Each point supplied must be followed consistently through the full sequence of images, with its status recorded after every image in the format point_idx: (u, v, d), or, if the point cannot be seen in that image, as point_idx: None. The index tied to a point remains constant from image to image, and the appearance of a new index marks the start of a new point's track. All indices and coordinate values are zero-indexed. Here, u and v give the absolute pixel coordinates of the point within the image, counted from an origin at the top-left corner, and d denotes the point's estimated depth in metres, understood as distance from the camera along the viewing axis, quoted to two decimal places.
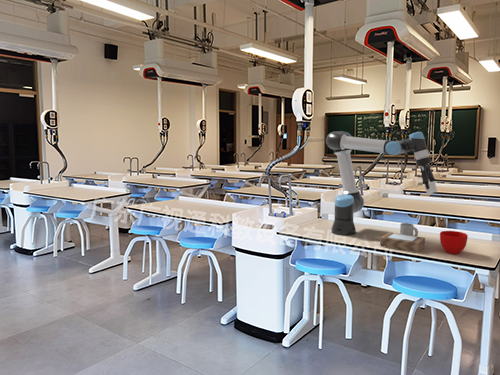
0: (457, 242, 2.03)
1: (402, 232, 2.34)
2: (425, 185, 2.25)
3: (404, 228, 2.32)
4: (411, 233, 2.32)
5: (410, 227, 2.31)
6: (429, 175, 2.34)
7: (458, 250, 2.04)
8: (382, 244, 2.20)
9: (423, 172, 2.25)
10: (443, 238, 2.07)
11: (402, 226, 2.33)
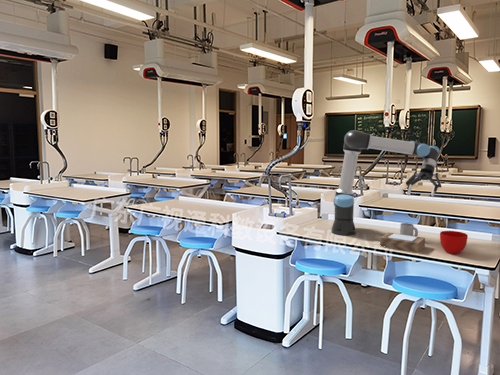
0: (457, 242, 2.03)
1: (402, 232, 2.34)
2: (434, 187, 2.33)
3: (404, 228, 2.32)
4: (411, 233, 2.32)
5: (410, 227, 2.31)
6: (417, 180, 2.44)
7: (458, 250, 2.04)
8: (382, 244, 2.20)
9: (438, 178, 2.37)
10: (443, 238, 2.07)
11: (402, 226, 2.33)
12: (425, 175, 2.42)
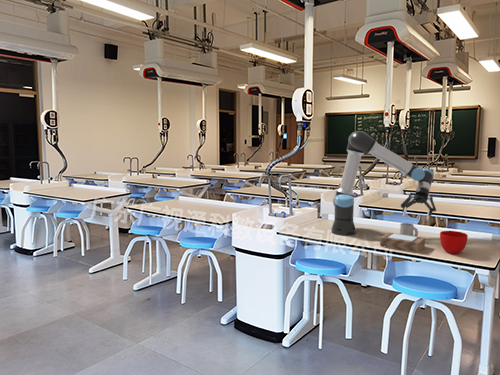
0: (457, 242, 2.03)
1: (402, 232, 2.34)
2: (429, 211, 2.36)
3: (404, 228, 2.32)
4: (411, 233, 2.32)
5: (410, 227, 2.31)
6: (411, 203, 2.46)
7: (458, 250, 2.04)
8: (382, 244, 2.20)
9: None
10: (443, 238, 2.07)
11: (402, 226, 2.33)
12: (420, 198, 2.44)
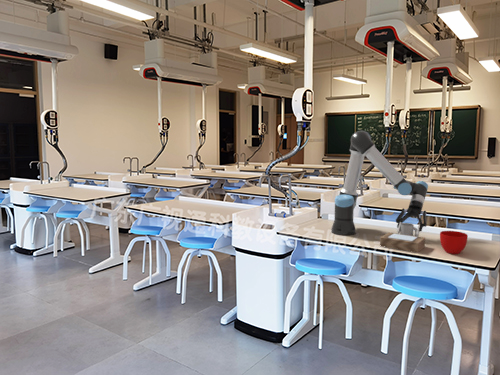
0: (457, 242, 2.03)
1: (402, 232, 2.34)
2: (419, 226, 2.31)
3: (404, 228, 2.32)
4: (411, 233, 2.32)
5: (410, 227, 2.31)
6: (406, 218, 2.39)
7: (458, 250, 2.04)
8: (382, 244, 2.20)
9: (425, 216, 2.34)
10: (443, 238, 2.07)
11: (402, 226, 2.33)
12: (413, 212, 2.38)
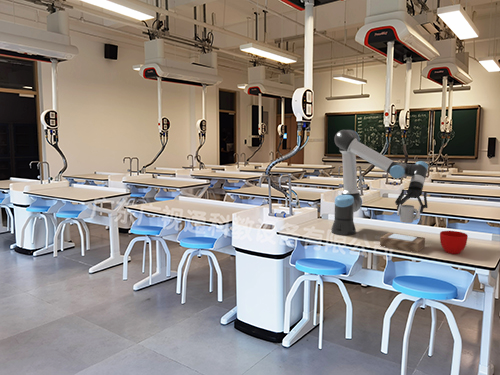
0: (457, 242, 2.03)
1: (402, 214, 2.24)
2: (420, 207, 2.21)
3: (404, 210, 2.22)
4: (412, 215, 2.22)
5: (411, 209, 2.21)
6: (406, 199, 2.29)
7: (458, 250, 2.04)
8: (382, 244, 2.20)
9: None
10: (443, 238, 2.07)
11: (402, 208, 2.23)
12: (413, 193, 2.28)
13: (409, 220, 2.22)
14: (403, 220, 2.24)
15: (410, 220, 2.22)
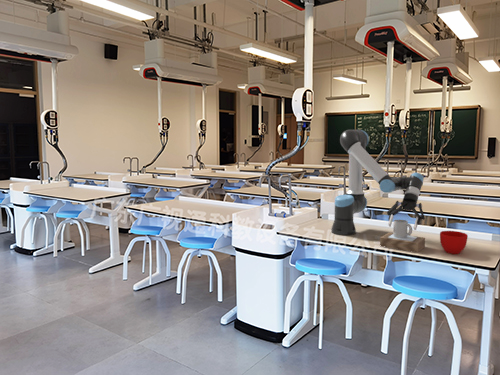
0: (457, 242, 2.03)
1: (395, 229, 2.19)
2: (417, 219, 2.15)
3: (397, 225, 2.18)
4: (405, 230, 2.17)
5: (404, 224, 2.17)
6: (399, 210, 2.25)
7: (458, 250, 2.04)
8: (382, 244, 2.20)
9: (421, 209, 2.19)
10: (443, 238, 2.07)
11: (395, 223, 2.19)
12: (408, 205, 2.23)
13: (402, 235, 2.17)
14: (396, 235, 2.19)
15: (403, 235, 2.17)
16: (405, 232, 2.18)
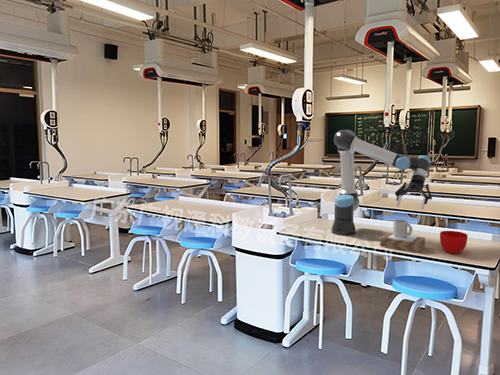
0: (457, 242, 2.03)
1: (395, 229, 2.19)
2: (425, 199, 2.23)
3: (397, 225, 2.18)
4: (405, 230, 2.17)
5: (404, 224, 2.17)
6: (406, 191, 2.33)
7: (458, 250, 2.04)
8: (382, 244, 2.20)
9: None
10: (443, 238, 2.07)
11: (395, 223, 2.19)
12: (415, 186, 2.31)
13: (402, 235, 2.17)
14: (396, 235, 2.19)
15: (403, 235, 2.17)
16: (405, 232, 2.18)
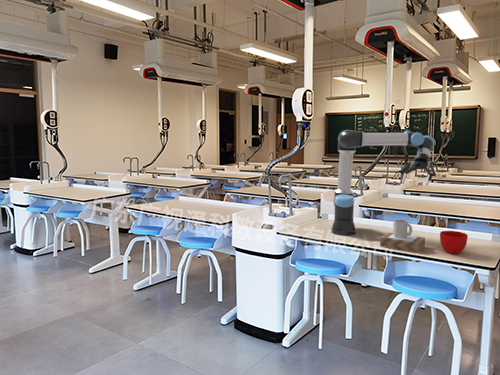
0: (457, 242, 2.03)
1: (395, 229, 2.19)
2: (429, 176, 2.33)
3: (397, 225, 2.18)
4: (405, 230, 2.17)
5: (404, 224, 2.17)
6: (411, 170, 2.43)
7: (458, 250, 2.04)
8: (382, 244, 2.20)
9: None
10: (443, 238, 2.07)
11: (395, 223, 2.19)
12: (420, 164, 2.41)
13: (402, 235, 2.17)
14: (396, 235, 2.19)
15: (403, 235, 2.17)
16: (405, 232, 2.18)
